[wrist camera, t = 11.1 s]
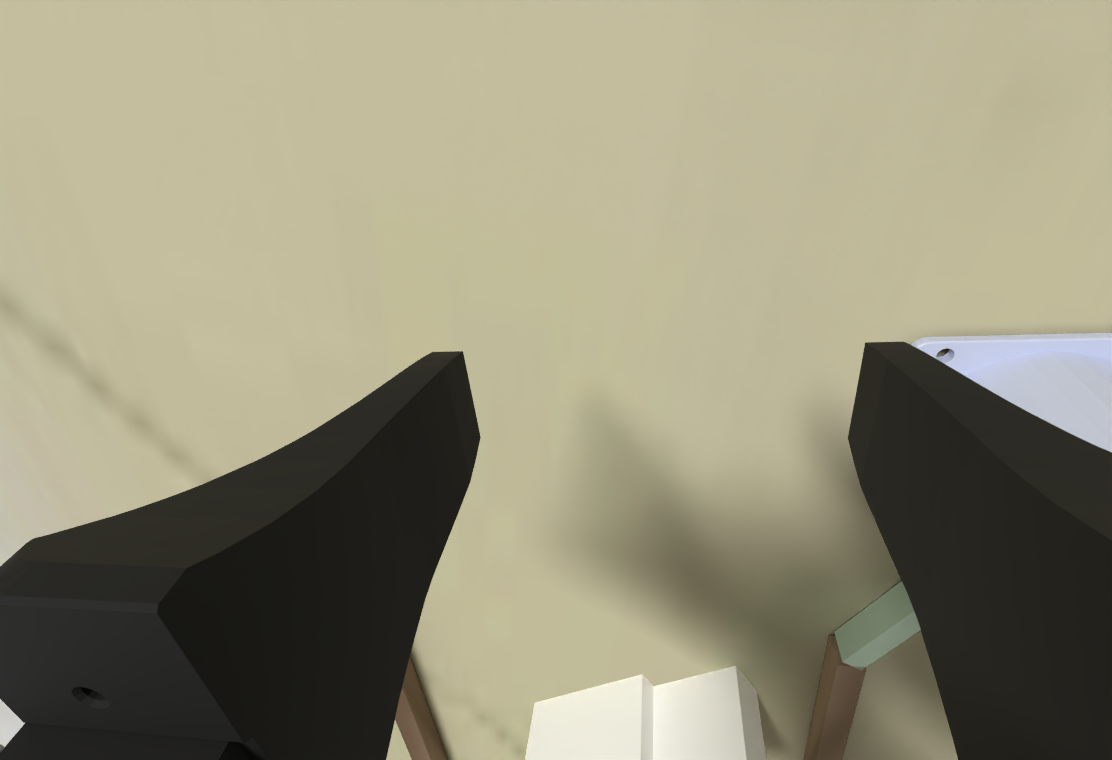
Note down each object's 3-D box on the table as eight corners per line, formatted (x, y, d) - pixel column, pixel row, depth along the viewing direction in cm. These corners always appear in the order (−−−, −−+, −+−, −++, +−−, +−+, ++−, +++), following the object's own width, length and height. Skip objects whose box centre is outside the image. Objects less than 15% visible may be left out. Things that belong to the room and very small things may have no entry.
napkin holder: (511, 725, 37) (490, 834, 32) (517, 603, 31) (492, 716, 26) (766, 769, 36) (783, 890, 31) (826, 652, 30) (858, 779, 25)
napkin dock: (933, 574, 26) (958, 627, 23) (847, 845, 38) (858, 894, 36) (304, 551, 30) (278, 594, 28) (415, 800, 43) (402, 841, 41)
